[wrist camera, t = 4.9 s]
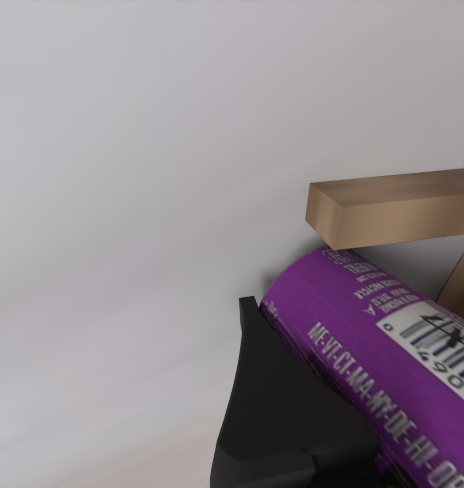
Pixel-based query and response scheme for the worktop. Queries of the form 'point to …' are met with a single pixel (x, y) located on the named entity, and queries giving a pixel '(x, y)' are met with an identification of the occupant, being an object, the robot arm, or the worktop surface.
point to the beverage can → (379, 359)
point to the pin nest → (393, 215)
